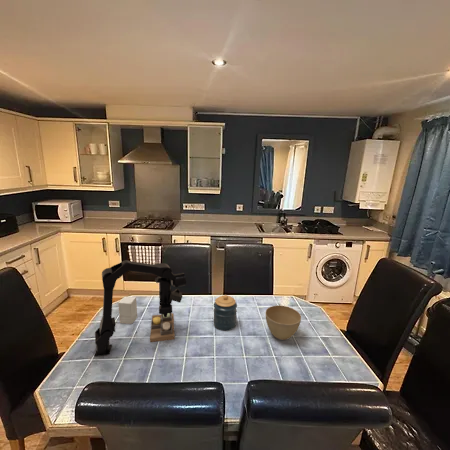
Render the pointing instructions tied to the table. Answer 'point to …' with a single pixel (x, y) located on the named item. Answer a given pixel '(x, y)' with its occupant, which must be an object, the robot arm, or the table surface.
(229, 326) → the canister
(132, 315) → the supplement box
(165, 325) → the cream button
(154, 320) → the mustard button
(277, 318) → the tan bowl
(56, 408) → the table surface
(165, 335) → the brown button box
